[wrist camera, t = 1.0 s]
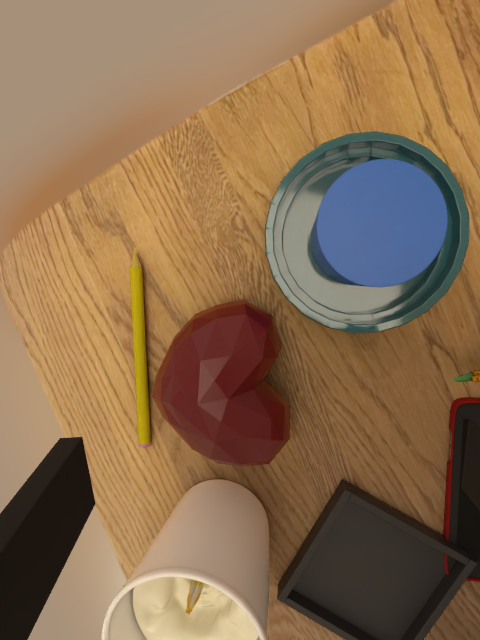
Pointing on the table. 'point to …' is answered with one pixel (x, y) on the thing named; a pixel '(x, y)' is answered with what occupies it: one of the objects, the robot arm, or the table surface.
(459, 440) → the cell phone
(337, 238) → the blue pillar candle
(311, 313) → the bowl
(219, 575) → the candle holder
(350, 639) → the tray
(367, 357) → the table surface
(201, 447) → the heart
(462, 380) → the figurine
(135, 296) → the pencil
